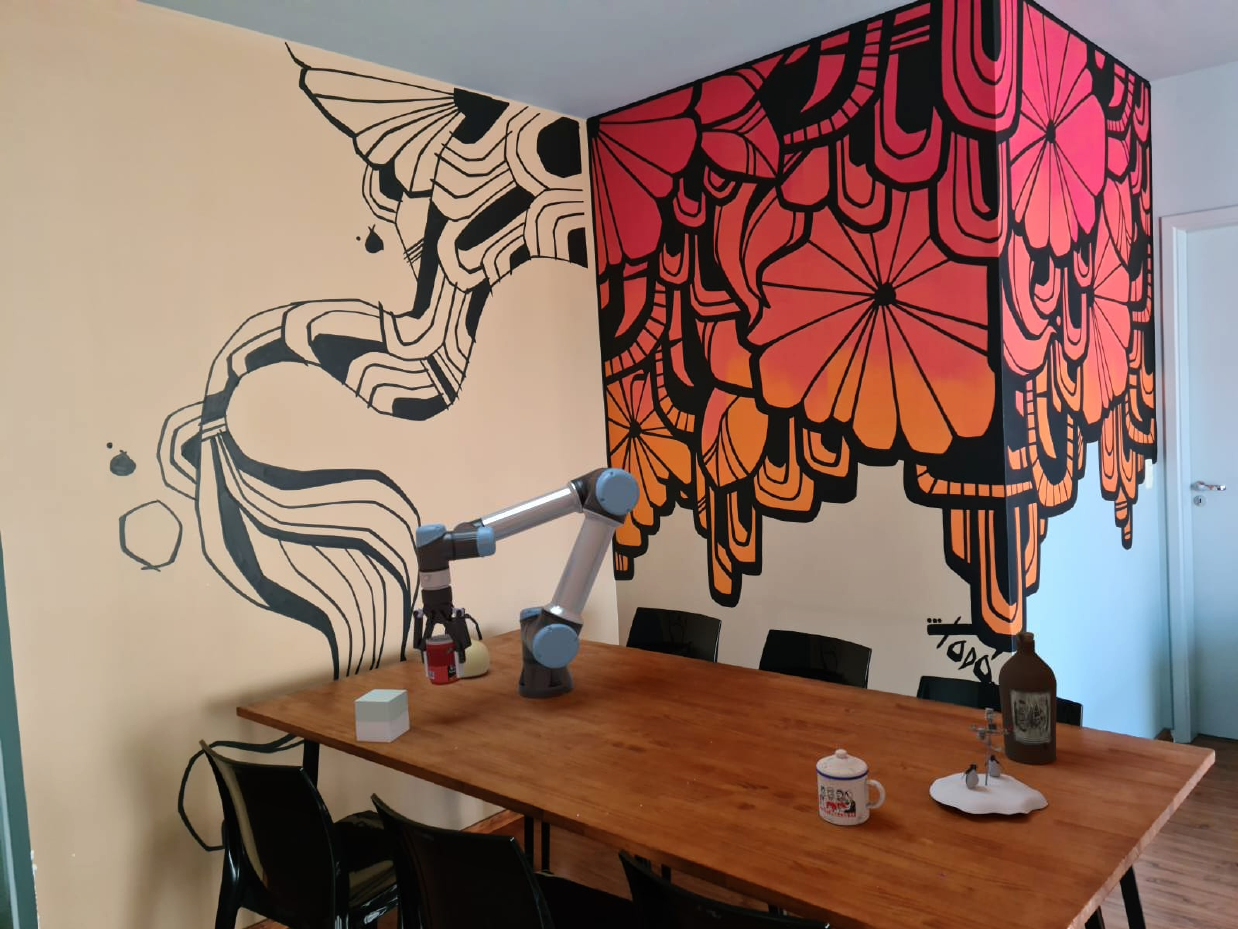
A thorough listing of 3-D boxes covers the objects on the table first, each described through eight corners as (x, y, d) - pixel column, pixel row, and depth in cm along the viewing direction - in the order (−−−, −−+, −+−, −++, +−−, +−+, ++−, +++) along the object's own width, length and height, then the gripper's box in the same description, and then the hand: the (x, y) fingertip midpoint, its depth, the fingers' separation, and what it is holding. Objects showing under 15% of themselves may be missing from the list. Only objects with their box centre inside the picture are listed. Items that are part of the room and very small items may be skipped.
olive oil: (998, 744, 182) (993, 626, 181) (1054, 747, 179) (1049, 627, 178) (1004, 764, 172) (999, 639, 171) (1064, 768, 169) (1059, 640, 168)
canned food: (454, 685, 215) (450, 641, 214) (424, 686, 217) (420, 642, 216) (466, 675, 222) (462, 633, 222) (437, 676, 224) (432, 634, 223)
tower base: (409, 730, 216) (408, 710, 215) (390, 743, 207) (388, 722, 207) (377, 728, 218) (376, 708, 218) (357, 741, 210) (355, 721, 209)
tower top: (408, 710, 216) (406, 690, 215) (389, 722, 207) (388, 702, 207) (375, 709, 218) (374, 689, 218) (356, 721, 209) (354, 701, 209)
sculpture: (457, 670, 266) (454, 635, 266) (495, 669, 265) (492, 634, 264) (444, 681, 255) (442, 644, 255) (484, 680, 253) (481, 643, 253)
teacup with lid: (810, 820, 154) (806, 755, 154) (829, 800, 162) (826, 738, 161) (877, 835, 147) (874, 767, 147) (894, 813, 155) (890, 749, 154)
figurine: (984, 829, 145) (986, 731, 145) (907, 791, 162) (909, 703, 162) (1069, 812, 153) (1071, 719, 153) (988, 777, 170) (989, 694, 170)
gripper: (391, 591, 218) (401, 680, 219) (466, 589, 211) (475, 681, 213) (407, 584, 225) (416, 671, 226) (480, 582, 218) (489, 671, 220)
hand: (445, 675), depth 219 cm, fingers closed on canned food, 8 cm apart
